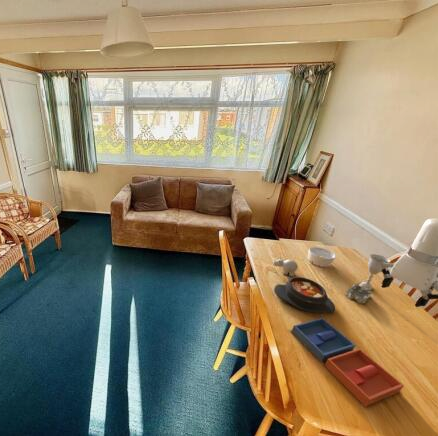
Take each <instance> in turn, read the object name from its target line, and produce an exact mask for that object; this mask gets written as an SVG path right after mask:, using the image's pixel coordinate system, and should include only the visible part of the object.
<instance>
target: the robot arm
mask: <svg viewBox="0 0 438 436" xmlns="http://www.w3.org/2000/svg"><path fill="white" fill-rule="evenodd" d="M381 268H382V271H381V273H382V274H383V279H382V282H381V288H383V289H386V288H390V286H391V284H392V282H393V281H394V279H396V280H398V281H400V282H402V283H404V284H406V285H407V286H410V287H412V289H413V288H414V289H416V290H418V291H420V293H421V296H420V297H419V298H418V299H417V300H416V302H415V304H414V306H415V308H419V307H425V306H426V305H427V304H428V303H429V301H430V300H438V293H433V292H432V291H434V290H435V291H436V292H438V218H436V217H434V218H433V217H432V218H428V219H426V220H425V222H424V223H423V224H422V226H421V228H420V229H419V232H418V233H417V235H416V237H415V238H414V240H413V243H411V246H410V248H409V250H408V251H405V252H404V253H403V254H402V255H401V256H400V257H399V258H398V259H397V261H395V262H394V263H392V262H388V263H381ZM389 268H391V269H390V270H389Z"/></svg>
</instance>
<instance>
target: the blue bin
mask: <svg viewBox="0 0 438 436" xmlns="http://www.w3.org/2000/svg"><path fill="white" fill-rule="evenodd" d="M329 330H332V331H333V332H335V334H336V338H335V339H331V340H328V341H325V342H324V344H323V345H322V346H319V347H317V346H316V345H315V344H314V343H313V342H312V341H311V340H310V339H309V338H307V337H306V336H308V335H312V334H319V333H322V332H326V331H329ZM291 333H292V334H293V335H294V336H295V337H296V338H297V339H298V340H299V341H300V342H301V343H302V344H303V345H304V346H305V347H306V348H307V349H308V350H309V351H310V352H311V353H312V354H313V355H314V356H315V358H317V359H318V360H319V361H320V362H321V363H322V362H326V361H327V360H328V359H329V358H332V357H335V356H338V355H341V354H344V353H347V352H350V351H353V350H355V347H356V344H355V343H353V342H352V341H351V340H350V339H349V338H348V337H346V335H344V334H343V333H341V332H340V331H339V329H337V328H336V327H334V326H333V325H332V324H331V323H330V322H328V321H327V320H326V319H325V318H324V317H320V318H317V319H316V318H315V319H313V320H309V321H306V322H301V323H298V324H295V325H293V326H292V329H291Z"/></svg>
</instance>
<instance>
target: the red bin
mask: <svg viewBox="0 0 438 436" xmlns="http://www.w3.org/2000/svg"><path fill="white" fill-rule="evenodd" d="M368 365H373V366H375V367H376V368H377V369H378V371H379V374H378V375H376V376H373V377H371V378H368V379H366V381H365V383H364V384H363V385H360V386H357V385H356V384H355V383H354V382H353V381H352V380H351V379H350V378H349V377H348V376H347V375H346V374H345V373H344V372H346V371H349V370H352V369H354V370H357V369H360V368H363V367H365V366H368ZM324 367H326V368H327V370H328V371H330V372H331V374H332V375H333V376H334V377H335V378H336V379H337V380H338V381H339V382H340V383H341V384H342V385H344V387H345V388H346V389H347V390H348V391H349V392H350V393H351V394H352V395H353V396H354V397H355V398H356V399H357V400H358V401H359V402H360V403H361V404H362V405H363V406H364V407H367V406H370V405H372V404H375V403H377V402H379V401H382V400H384V399H387V398H389V397H391V396H394V395H396V394H398V393H400V392H401V390H402V389H403V388H404V387H405V385H404V383H402V382H401V381H400V380H398V379H397V378H396V377H395V376H394V375H392V374H391V373H390V372H389V371H388V370H386V369H385V368H384V367H383V366H381V365H380V364H379V363H378V362H377V361H376V360H374V359H373V358H372V357H370V355H368V354H367V353H366V352H365V351H363V350H362V349H361V348H356V349H353V350H352V351H350V352H347V353H344V354H341V355H338V356H335V357H332V358H329V359H328V360H326V361H325V363H324Z"/></svg>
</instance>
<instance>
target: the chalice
mask: <svg viewBox="0 0 438 436" xmlns="http://www.w3.org/2000/svg"><path fill="white" fill-rule="evenodd" d="M381 263H391V259H390V258H388V257H385V256H383V255H379V254H375V253H373V254H370V259H369V260H368V263H367V268H368V272H369V273H370V274H369V275H368V278H366V281H362V282H360V283H359V284H358V285H359V286H361V287H363V288H365V289H367V290H368V291H372V290H373V287H372V284H371V281H372V279H373V278H374V275H377V274H380V273H382V268H381Z"/></svg>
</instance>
